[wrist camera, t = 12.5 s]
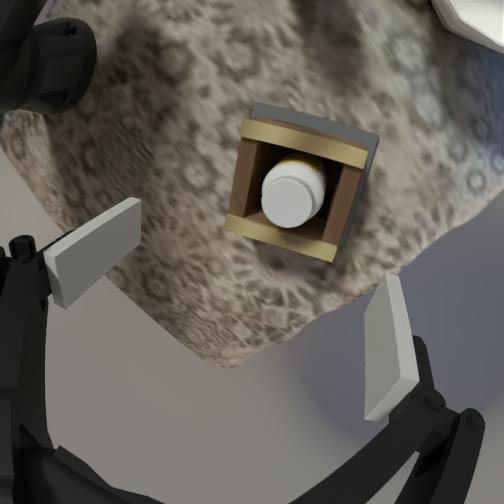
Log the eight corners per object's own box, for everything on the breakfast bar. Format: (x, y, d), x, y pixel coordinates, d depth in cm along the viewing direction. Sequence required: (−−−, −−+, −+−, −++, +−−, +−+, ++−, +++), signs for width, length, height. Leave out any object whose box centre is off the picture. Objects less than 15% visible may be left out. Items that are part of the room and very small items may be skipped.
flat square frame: (233, 213, 36) (232, 214, 35) (255, 102, 29) (254, 102, 29) (342, 246, 34) (342, 247, 34) (378, 135, 27) (378, 135, 27)
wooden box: (243, 207, 35) (223, 230, 29) (261, 116, 29) (242, 119, 24) (334, 234, 33) (332, 262, 28) (362, 142, 28) (368, 151, 22)
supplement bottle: (268, 162, 32) (240, 186, 24) (314, 141, 30) (303, 157, 21) (290, 206, 34) (272, 245, 25) (336, 188, 31) (333, 222, 23)
